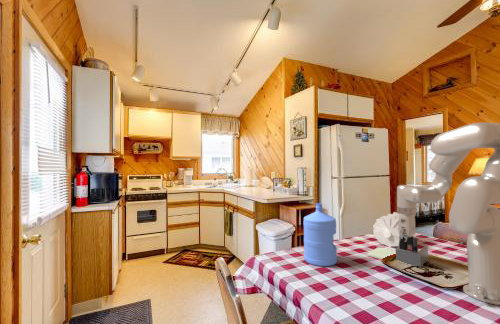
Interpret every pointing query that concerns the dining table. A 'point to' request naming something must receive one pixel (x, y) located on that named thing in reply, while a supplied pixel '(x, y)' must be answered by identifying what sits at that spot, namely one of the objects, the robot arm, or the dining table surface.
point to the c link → (412, 256)
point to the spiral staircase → (387, 229)
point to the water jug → (319, 238)
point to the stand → (415, 245)
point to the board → (381, 253)
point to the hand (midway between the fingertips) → (406, 247)
